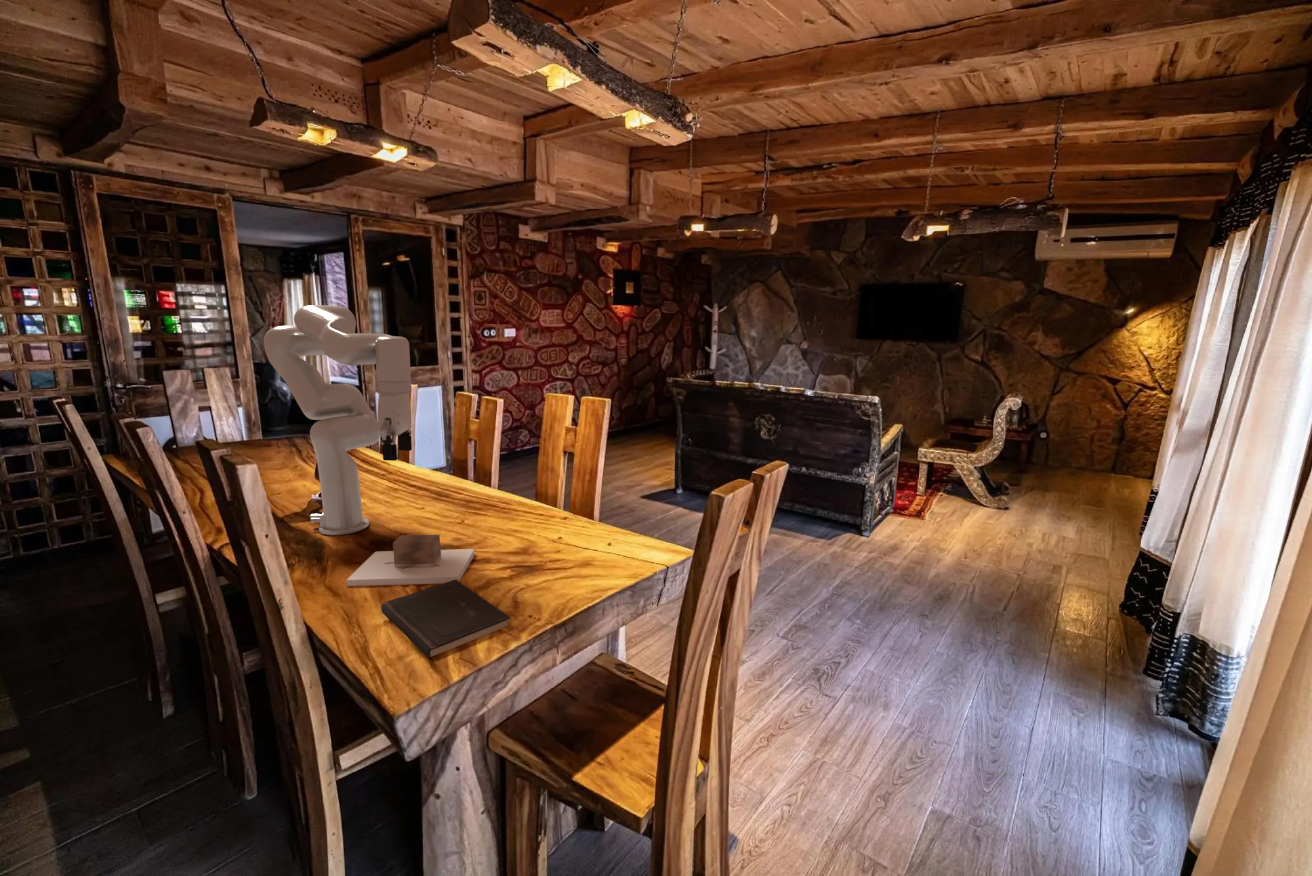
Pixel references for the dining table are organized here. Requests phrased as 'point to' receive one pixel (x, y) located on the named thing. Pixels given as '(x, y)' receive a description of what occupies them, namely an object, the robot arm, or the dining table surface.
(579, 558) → the dining table surface
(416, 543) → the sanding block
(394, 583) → the board
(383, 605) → the hardcover book
